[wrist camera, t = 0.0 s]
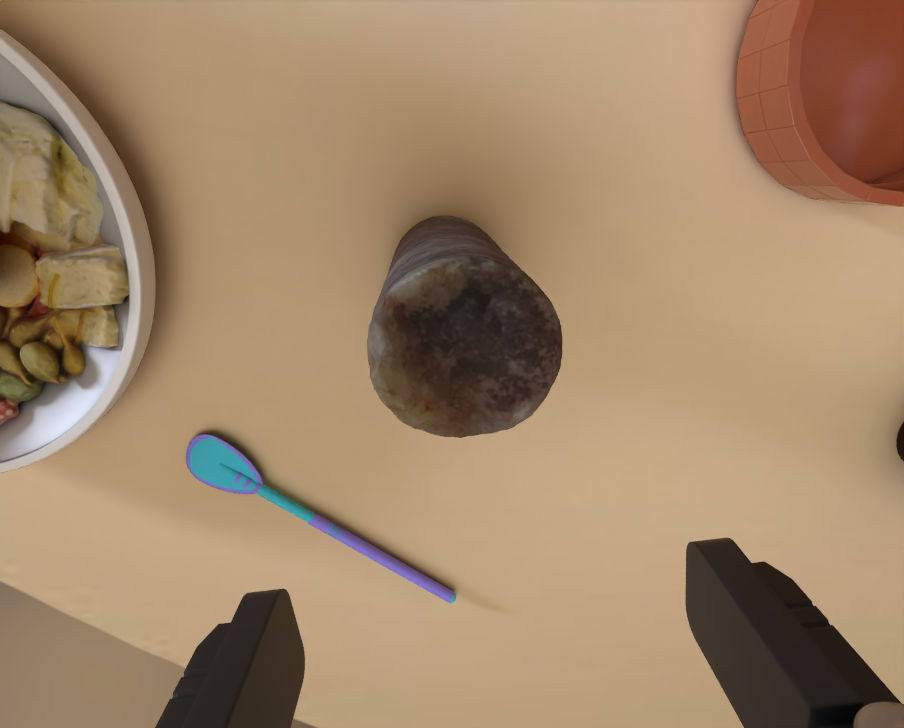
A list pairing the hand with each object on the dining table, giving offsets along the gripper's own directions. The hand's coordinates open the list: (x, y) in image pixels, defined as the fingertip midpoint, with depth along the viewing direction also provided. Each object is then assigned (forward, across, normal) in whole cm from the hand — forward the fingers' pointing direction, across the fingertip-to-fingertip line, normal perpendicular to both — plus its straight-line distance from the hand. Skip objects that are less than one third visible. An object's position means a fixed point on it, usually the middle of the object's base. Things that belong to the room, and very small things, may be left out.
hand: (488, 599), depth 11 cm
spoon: (+29, +12, +17) cm, 36 cm away
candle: (+30, 0, -2) cm, 30 cm away
